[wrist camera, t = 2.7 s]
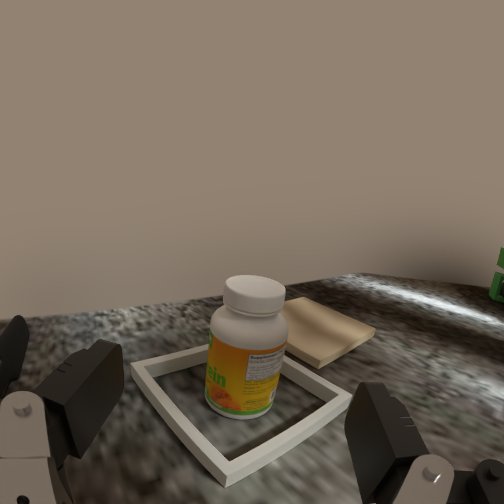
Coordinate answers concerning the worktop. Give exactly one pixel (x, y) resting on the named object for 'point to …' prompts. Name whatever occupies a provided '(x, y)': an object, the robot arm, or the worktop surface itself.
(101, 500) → the worktop surface
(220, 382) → the supplement bottle
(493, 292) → the tank
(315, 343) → the pad
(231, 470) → the square frame
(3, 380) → the electric trimmer
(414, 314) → the worktop surface
